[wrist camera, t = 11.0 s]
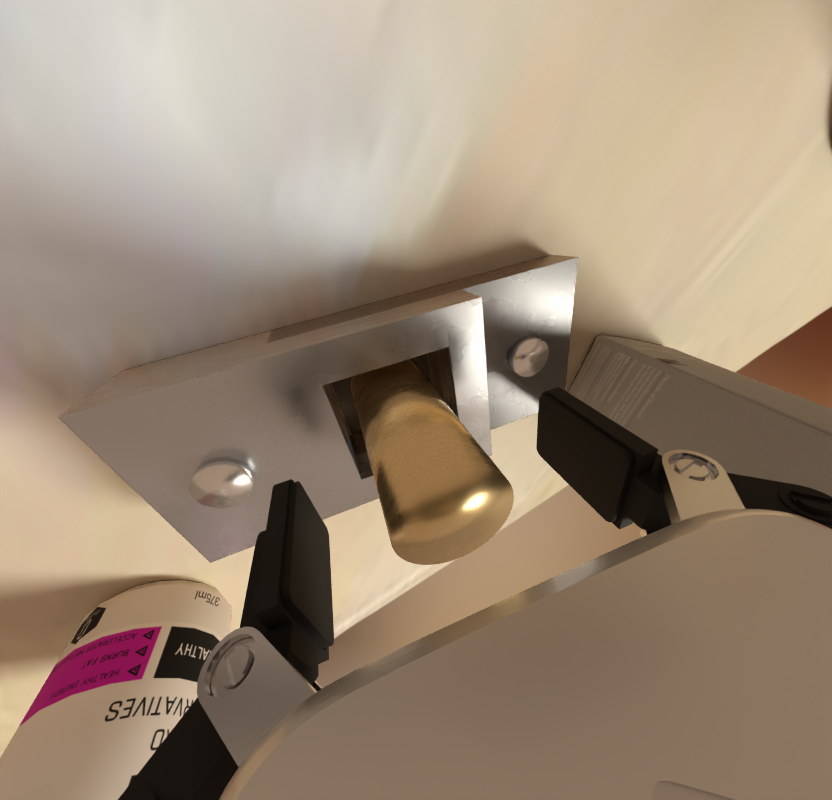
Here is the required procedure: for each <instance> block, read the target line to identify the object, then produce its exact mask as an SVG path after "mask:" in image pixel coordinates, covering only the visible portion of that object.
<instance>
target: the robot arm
mask: <svg viewBox="0 0 832 800" xmlns="http://www.w3.org/2000/svg"><path fill="white" fill-rule="evenodd" d="M658 450H659V449H657V448H656V447H654V446H652V445H651V444H649V443H648V442H646V441H644V440H643V439H641V438H640V437H638V436H636V435H635V434H633V433H632V432H630V431H628V430H627V429H625V428H624V427H622V426H621V425H619V424H617V423H616V422H614V421H613V420H611V419H609V418H608V417H606V416H605V415H603V414H601V413H600V412H598V411H597V410H595V409H593V408H592V407H590V406H589V405H587V404H586V403H584V402H582V401H581V400H579V399H578V398H576V397H574V396H573V395H571V394H570V393H568V392H566V391H565V390H563V389H562V388H560V387H556V388H553V389H550V390H547V391H544V392H543V393H542V396H541V397H540V398H539V409H538V429H537V451H538V453H539V455H540V456H541V457H542V458H543V459H544V460H545V461H546V462H547V463H548V464H549V465H550V466H551V467H552V468H553V469H554V470H555V471H556V472H557V473H558V474H559V475H560V476H561V477H562V478H563V479H564V480H565V481H566V482H567V483H568V484H569V485H570V486H571V487H572V488H573V489H574V490H576V492H577V493H578V494H579V495H581V496H582V498H583V499H584V500H585V501H586V502H588V503H589V504H590V505H591V506H592V507H593V508H594V509H595V510H596V511H597V512H598V513H599V514H600V515H601V516H602V517H603V518H604V519H605V520H606V521H608V522H612V523H613V524H614V525H615V526H616V527H617V528H619V529H621V528H623V527H626V526H628V525H630V524H632V523H633V522H634V523H635V524H636V525H637V526H639V528H640V533H641V538H639V539H637V540H635V541H632V542H630V543H628V544H626V545H623V546H621V547H619V548H617V549H615V550H612V551H610V552H608V553H606V554H604V555H601V556H599V557H597V558H595V559H593V560H590V561H588V562H586V563H584V564H582V565H579V566H577V567H575V568H573V569H570V570H568V571H566V572H564V573H562V574H559V575H557V576H555V577H553V578H551V579H549V580H546V581H545V582H542V583H540V584H538V585H536V586H533V587H531V588H529V589H527V590H525V591H523V592H520V593H518V594H516V595H514V596H511V597H509V598H507V599H505V600H503V601H501V602H498V603H497V604H494V605H492V606H490V607H488V608H486V609H483V610H481V611H479V612H477V613H475V614H472V615H471V616H468V617H466V618H464V619H462V620H460V621H457V622H455V623H453V624H451V625H449V626H447V627H445V628H442V629H440V630H438V631H436V632H434V633H432V634H429V635H427V636H425V637H423V638H421V639H419V640H417V641H415V642H412V643H410V644H408V645H406V646H404V647H402V648H400V649H398V650H396V651H394V652H392V653H389V654H388V655H385V656H384V657H381V658H379V659H377V660H375V661H373V662H371V663H369V664H367V665H365V666H363V667H361V668H359V669H357V670H355V671H353V672H351V673H349V674H347V675H346V676H344V677H342V678H340V679H338V680H336V681H335V682H333V683H331V684H329V685H327V686H326V687H324V688H322V687H321V686H320V685H319V684H318V683H317V682H316V681H315V680H316V679H317V677H318V664H320V663H322V662H324V661H326V660H328V659H329V648H328V647H329V646H331V645H333V642H334V630H333V609H332V589H331V568H330V548H329V534H328V530H327V528H326V526H325V524H324V522H323V520H322V519H321V517H320V515H319V514H318V512H317V510H316V508H315V507H314V505H313V503H312V502H311V500H310V498H309V496H308V495H307V493H306V491H305V490H304V488H303V486H302V485H301V483H300V482H299V481H297V482H294V481H293V480H292V479H290V480H287V481H284V482H281V483H278V484H275V485H274V486H273V489H272V495H271V501H270V507H269V513H268V520H267V526H266V530H265V531H262V532H260V533H259V534H258V536H257V540H256V545H255V550H254V555H253V561H252V566H251V571H250V576H249V582H248V587H247V592H246V598H245V603H244V608H243V614H242V619H241V624H240V628H239V629H236V630H234V631H233V632H231V633H230V634H228V635H227V636H225V637H224V638H223V639H222V640H221V641H220V642H219V643H218V644H217V645H216V646H215V648H214V649H213V650H212V652H211V653H210V654H209V655H208V657H207V659H206V661H205V663H204V665H203V667H202V669H201V672H200V675H199V678H198V682H197V695H198V697H197V699H196V700H195V701H194V702H193V704H192V705H191V706H190V708H189V709H188V710H187V711H186V713H185V714H184V715H183V717H182V718H181V719H180V720H179V722H178V723H177V724H176V726H175V727H174V728H173V729H172V731H171V732H170V733H169V735H168V736H167V737H166V738H165V740H164V741H163V742H162V744H161V745H160V746H159V747H158V749H157V750H156V751H155V753H154V754H153V755H152V756H151V758H150V759H149V760H148V762H147V763H146V764H145V765H144V767H143V768H142V769H141V771H140V772H139V773H138V774H137V776H136V777H135V778H134V780H133V781H132V782H131V783H130V785H129V786H128V787H127V788H126V790H125V791H124V792H123V794H122V795H121V796H120V797H119V799H118V800H832V497H831V496H829V495H827V494H825V493H823V492H820V491H818V490H815V489H812V488H809V487H805V486H801V485H796V484H790V483H784V482H778V481H772V480H767V479H761V478H755V477H749V476H743V475H738V474H732V473H726V471H725V470H724V468H723V467H722V466H721V465H720V464H719V463H718V462H716V461H715V460H714V459H712V458H710V457H708V456H706V455H704V454H701V453H698V452H695V451H689V450H672V451H669V452H667V453H665V454H664V455H663V456H661V455H660V454H658V453H657V452H658Z"/></svg>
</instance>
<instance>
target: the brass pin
mask: <svg viewBox="0 0 832 800" xmlns="http://www.w3.org/2000/svg"><path fill="white" fill-rule="evenodd" d="M350 387H351V392H352V396H353V399H354V403H355V407H356V411H357V415H358V419H359V422H360V426H361V430H362V434H363V438H364V441H365V445H366V449H367V453H368V457H369V460H370V464H371V468H372V472H373V476H374V479H375V483H376V487H377V491H378V495H379V499H380V502H381V506H382V510H383V514H384V518H385V521H386V525H387V529H388V533H389V537H390V540H391V544H392V547H393V549H394V551H395V552H396V554H397V555H398V556H399V557H401V558H402V559H404V560H406V561H408V562H411V563H415V564H422V565H432V564H440V563H444V562H448V561H452V560H455V559H457V558H460V557H462V556H464V555H466V554H468V553H470V552H472V551H474V550H476V549H477V548H478V547H480V546H481V545H483V544H484V543H485V542H487V541H488V540H489V539H490V538H491V537H493V536H494V535H495V534H496V532H497V531H498V530H499V529H500V528H501V527H502V525H503V524H504V523H505V521H506V520H507V518H508V516H509V514H510V511H511V509H512V505H513V498H514V496H513V489H512V486H511V485H510V483H509V481H508V480H507V479H506V478H505V476H504V475H503V474H502V473H501V471H500V470H499V469H498V468H497V466H496V465H495V464H494V463H493V461H492V460H491V459H490V458H489V456H488V455H487V454H486V453H485V451H484V450H483V449H482V448H481V446H480V445H479V444H478V443H477V441H476V440H475V439H474V438H473V436H472V435H471V434H470V433H469V431H468V430H467V429H466V428H465V426H464V425H463V424H462V423H461V421H460V420H459V419H458V418H457V417H456V415H455V414H454V413H453V412H452V410H451V409H450V408H449V407H448V405H447V404H446V403H445V402H444V400H443V399H442V398H441V397H440V395H439V394H438V393H437V392H436V390H435V389H434V388H433V387H432V385H431V384H430V383H429V382H428V380H427V379H426V378H425V377H424V375H423V374H422V373H421V372H420V370H419V369H418V368H417V367H416V365H415V364H414V363H413V362H412V361H411V359H407V360H404V361H401V362H397V363H394V364H391V365H388V366H384V367H381V368H378V369H375V370H371V371H368V372H365V373H362V374H358V375H355V376H352V377H351V379H350Z"/></svg>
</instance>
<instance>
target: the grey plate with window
mask: <svg viewBox="0 0 832 800" xmlns="http://www.w3.org/2000/svg"><path fill="white" fill-rule="evenodd" d="M577 264H578V257H569V256H557V255H549V256H546V257H542V258H538V259H535V260H531V261H527V262H524V263H520V264H516V265H512V266H509V267H505V268H501V269H498V270H494V271H490V272H486V273H483V274H479V275H475V276H472V277H468V278H464V279H461V280H457V281H453V282H449V283H446V284H442V285H438V286H435V287H431V288H427V289H423V290H420V291H416V292H412V293H409V294H405V295H401V296H397V297H394V298H390V299H386V300H383V301H379V302H375V303H372V304H368V305H364V306H360V307H357V308H353V309H349V310H346V311H342V312H338V313H334V314H331V315H327V316H323V317H320V318H316V319H312V320H309V321H305V322H301V323H297V324H294V325H290V326H286V327H283V328H279V329H275V330H271V331H268V332H264V333H260V334H257V335H253V336H249V337H246V338H242V339H238V340H234V341H231V342H227V343H223V344H220V345H216V346H212V347H208V348H205V349H201V350H197V351H194V352H190V353H186V354H182V355H179V356H175V357H171V358H168V359H164V360H160V361H157V362H153V363H149V364H145V365H142V366H138V367H134V368H131V369H127V370H123V371H122V372H120V373H119V374H117V375H116V376H115V377H113V378H112V379H111V380H109V381H108V382H106V383H105V384H104V385H102V386H101V387H99V388H98V389H97V390H95V391H94V392H92V393H91V394H90V395H88V396H87V397H86V398H84V399H83V400H81V401H80V402H79V403H77V404H76V405H74V406H73V407H72V408H70V409H69V410H68V411H66V412H65V413H63V414H62V415H61V416H59V417H58V418H59V419H60V420H61V421H63V422H64V423H65V424H66V425H67V426H68V427H69V428H70V429H71V430H72V431H73V432H74V433H75V434H76V435H77V436H78V437H79V438H80V439H81V440H82V441H83V442H85V443H86V444H87V445H88V446H89V447H90V448H91V449H92V450H93V451H94V452H95V453H96V454H97V455H98V456H99V457H100V458H101V459H102V460H103V461H104V462H105V463H107V464H108V465H109V466H110V467H111V468H112V469H113V470H114V471H115V472H116V473H117V474H118V475H119V476H120V477H121V478H122V479H123V480H124V481H125V482H126V483H127V484H129V485H130V486H131V487H132V488H133V489H134V490H135V491H136V492H137V493H138V494H139V495H140V496H141V497H142V498H143V499H144V500H145V501H146V502H147V503H148V504H149V505H151V506H152V507H153V508H154V509H155V510H156V511H157V512H158V513H159V514H160V515H161V516H162V517H163V518H164V519H165V520H166V521H167V522H168V523H169V524H170V525H171V526H173V527H174V528H175V529H176V530H177V531H178V532H179V533H180V534H181V535H182V536H183V537H184V538H185V539H186V540H187V541H188V542H189V543H190V544H191V545H192V546H193V547H195V548H196V549H197V550H198V551H199V552H200V553H201V554H202V555H203V556H204V557H205V558H206V559H207V560H208V561H209V562H210V563H211V562H213V561H216V560H219V559H221V558H224V557H226V556H229V555H232V554H234V553H237V552H239V551H242V550H245V549H247V548H250V547H253V546H255V545H256V540H257V536H258V534H259V533H260V532H262V531H265V530H266V526H267V520H268V513H269V507H270V501H271V495H272V489H273V486H274V485H275V484H278V483H281V482H284V481H287V480H290V479H292V480H293V481H294V482H297V481H299V482H300V483H301V485H302V486H303V488H304V490H305V491H306V493H307V495H308V496H309V498H310V500H311V502H312V503H313V505H314V507H315V508H316V510H317V512H318V514H319V515H320V517H321V519H322V520H323V519H326V518H328V517H331V516H334V515H336V514H339V513H341V512H344V511H347V510H349V509H352V508H355V507H357V506H360V505H362V504H365V503H368V502H370V501H373V500H375V499H378V498H379V495H378V491H377V487H376V483H375V479H374V476H373V472H372V468H371V464H370V460H369V457H368V453H367V449H366V445H365V441H364V438H363V434H362V432H360V433H357V434H354V435H352V433H351V431H350V428H349V426H348V423H347V421H346V418H345V415H344V413H343V410H342V408H341V405H340V403H339V400H338V398H337V395H336V393H335V390H334V388H333V385H332V382H336V381H339V380H342V379H345V378H349V377H352V376H355V375H358V374H362V373H365V372H368V371H371V370H375V369H378V368H381V367H384V366H388V365H391V364H394V363H397V362H401V361H404V360H407V359H410V358H414V357H417V356H420V355H423V354H426V356H427V361H428V367H429V372H430V378H431V383H432V387H433V388H434V389H435V390H436V392H437V393H438V394H439V395H440V397H441V398H442V399H443V400H444V402H445V403H446V404H447V405H448V407H449V408H450V409H451V410H452V412H453V413H454V414H455V415H456V417H457V418H458V419H459V420H460V421H461V423H462V424H463V425H464V426H465V428H466V429H467V430H468V431H469V433H470V434H471V435H472V436H473V438H474V439H475V440H476V441H477V443H478V444H479V445H480V446H481V448H482V449H483V450H484V451H485V453H486V454H487V455H488V456H491V455H492V448H491V432H490V430H492V429H494V428H497V427H500V426H502V425H505V424H508V423H511V422H513V421H516V420H519V419H522V418H524V417H527V416H530V415H532V414H535V413H538V409H539V398H540V397H541V396H542V393H543V392H544V391H547V390H550V389H553V388H556V387H560V388H562V389H563V390H565V383H566V373H567V363H568V353H569V343H570V333H571V324H572V314H573V304H574V294H575V284H576V274H577Z"/></svg>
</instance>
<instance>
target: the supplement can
mask: <svg viewBox="0 0 832 800" xmlns="http://www.w3.org/2000/svg"><path fill="white" fill-rule="evenodd" d="M231 619H232V610H231V605H230V604H229V603H228V602H227V600H226V599H225V598H224V597H223V596H222V595H221V594H220V593H219V592H218V590H216V589H214V588H212V587H210V586H208V585H206V584H203V583H198V582H192V581H186V580H171V581H157V582H153V583H148V584H143V585H139V586H136V587H133V588H131V589H129V590H126V591H124V592H122V593H120V594H117V595H116V596H115V597H113V598H111V599H109V600H107V601H104V602H102V603H100V604H99V605H98V606H97V607H95V608H94V609H93V610H92V611H91V612H89V613H88V614H87V615H86V616H84V618H83V619H82V621H81V623H80V625H79V626H78V628H77V630H76V631H75V633H74V635H73V636H72V638H71V640H70V641H69V643H68V645H67V646H66V648H65V650H64V651H63V653H62V655H61V657H60V658H59V660H58V662H57V663H56V665H55V667H54V668H53V670H52V672H51V673H50V675H49V677H48V678H47V680H46V682H45V683H44V685H43V687H42V689H41V690H40V692H39V694H38V695H37V697H36V699H35V700H34V702H33V704H32V705H31V707H30V709H29V710H28V712H27V714H26V715H25V717H24V719H23V721H22V722H21V724H20V726H19V727H18V729H17V731H16V732H15V734H14V736H13V737H12V739H11V741H10V742H9V744H8V746H7V747H6V749H5V751H4V753H3V754H2V756H1V758H0V800H118V799H119V797H120V796H121V795H122V794H123V792H124V791H125V790H126V788H127V787H128V786H129V785H130V783H131V782H132V781H133V780H134V778H135V777H136V776H137V774H138V773H139V772H140V771H141V769H142V768H143V767H144V765H145V764H146V763H147V762H148V760H149V759H150V758H151V756H152V755H153V754H154V753H155V751H156V750H157V749H158V747H159V746H160V745H161V744H162V742H163V741H164V740H165V738H166V737H167V736H168V735H169V733H170V732H171V731H172V729H173V728H174V727H175V726H176V724H177V723H178V722H179V720H180V719H181V718H182V717H183V715H184V714H185V713H186V711H187V710H188V709H189V708H190V706H191V705H192V704H193V702H194V701H195V700H196V699H197V697H198V695H197V682H198V678H199V675H200V672H201V669H202V667H203V665H204V663H205V661H206V659H207V657H208V655H209V654H210V653H211V652H212V650H213V649H214V648H215V646H216V645H217V644H218V643H219V642H220V641H221V640H222V639H223V638H224V637H225V636H227V635H228V634H229V629H230V624H231Z"/></svg>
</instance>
